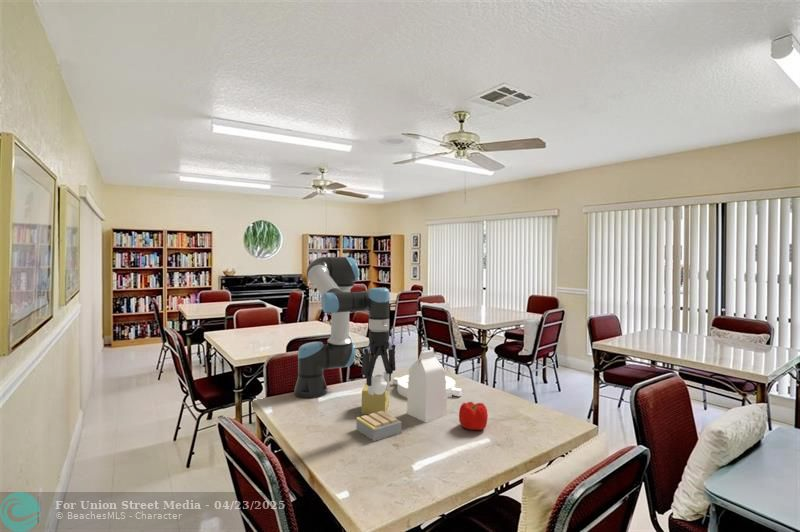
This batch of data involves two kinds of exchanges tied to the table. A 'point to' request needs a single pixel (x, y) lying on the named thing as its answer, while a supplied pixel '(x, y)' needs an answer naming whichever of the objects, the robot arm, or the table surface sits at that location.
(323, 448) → the table surface
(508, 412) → the table surface
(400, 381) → the white circle with bar
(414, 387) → the milk
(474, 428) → the red bell pepper
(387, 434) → the dock
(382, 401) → the cheese
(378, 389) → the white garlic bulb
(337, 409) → the table surface
